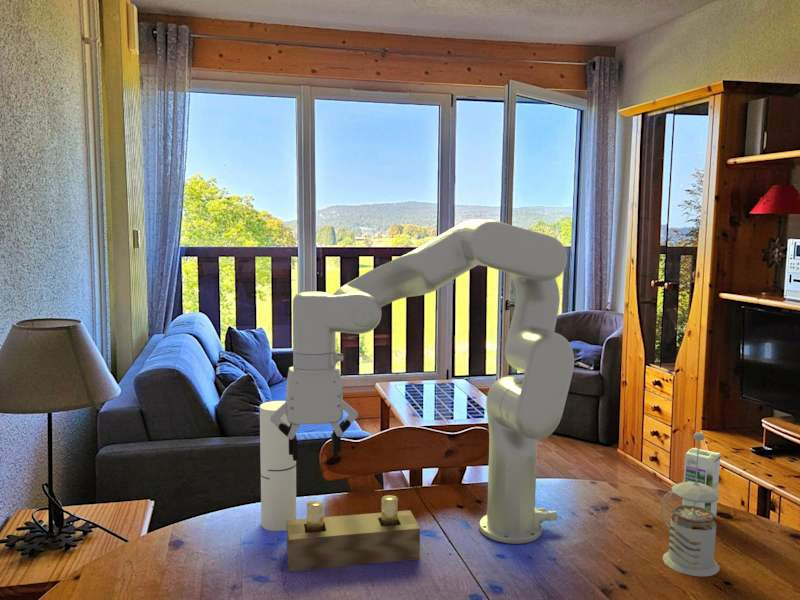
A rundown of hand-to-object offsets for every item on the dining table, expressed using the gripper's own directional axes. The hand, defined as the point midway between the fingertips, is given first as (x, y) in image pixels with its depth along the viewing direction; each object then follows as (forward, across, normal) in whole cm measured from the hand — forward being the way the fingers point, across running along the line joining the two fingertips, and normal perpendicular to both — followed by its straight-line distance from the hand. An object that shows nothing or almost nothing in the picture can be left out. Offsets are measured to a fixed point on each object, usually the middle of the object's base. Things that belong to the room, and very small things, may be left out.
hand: (314, 456), depth 125 cm
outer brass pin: (+15, 0, 0) cm, 15 cm away
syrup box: (+20, -82, -2) cm, 84 cm away
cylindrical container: (+20, +6, -16) cm, 26 cm away
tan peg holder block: (+20, -7, 0) cm, 21 cm away
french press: (+20, -68, +14) cm, 72 cm away
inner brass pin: (+15, -14, 0) cm, 21 cm away
